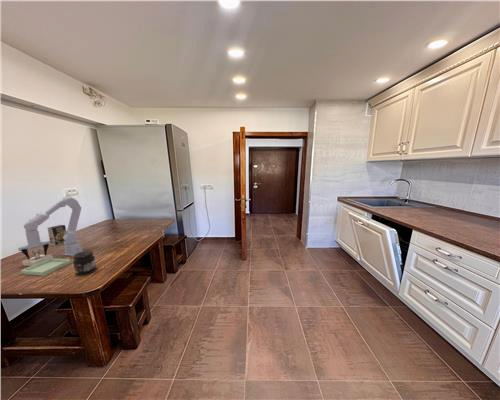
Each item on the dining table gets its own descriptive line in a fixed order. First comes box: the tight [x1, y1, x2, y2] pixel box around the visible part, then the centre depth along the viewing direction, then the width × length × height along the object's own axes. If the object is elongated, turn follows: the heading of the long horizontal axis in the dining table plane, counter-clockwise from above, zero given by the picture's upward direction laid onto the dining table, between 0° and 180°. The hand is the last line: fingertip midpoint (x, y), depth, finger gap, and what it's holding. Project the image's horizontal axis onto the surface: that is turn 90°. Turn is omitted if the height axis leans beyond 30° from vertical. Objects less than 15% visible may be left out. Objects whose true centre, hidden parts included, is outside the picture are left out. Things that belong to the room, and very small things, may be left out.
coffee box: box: [47, 224, 67, 247], centre depth 159 cm, size 9×6×16 cm
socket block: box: [22, 254, 53, 267], centre depth 129 cm, size 10×10×3 cm
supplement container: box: [72, 250, 97, 276], centre depth 117 cm, size 10×10×12 cm
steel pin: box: [31, 248, 41, 260], centre depth 129 cm, size 4×4×9 cm
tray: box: [20, 258, 72, 277], centre depth 121 cm, size 16×16×2 cm
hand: (37, 257), depth 129 cm, fingers open, 7 cm apart
